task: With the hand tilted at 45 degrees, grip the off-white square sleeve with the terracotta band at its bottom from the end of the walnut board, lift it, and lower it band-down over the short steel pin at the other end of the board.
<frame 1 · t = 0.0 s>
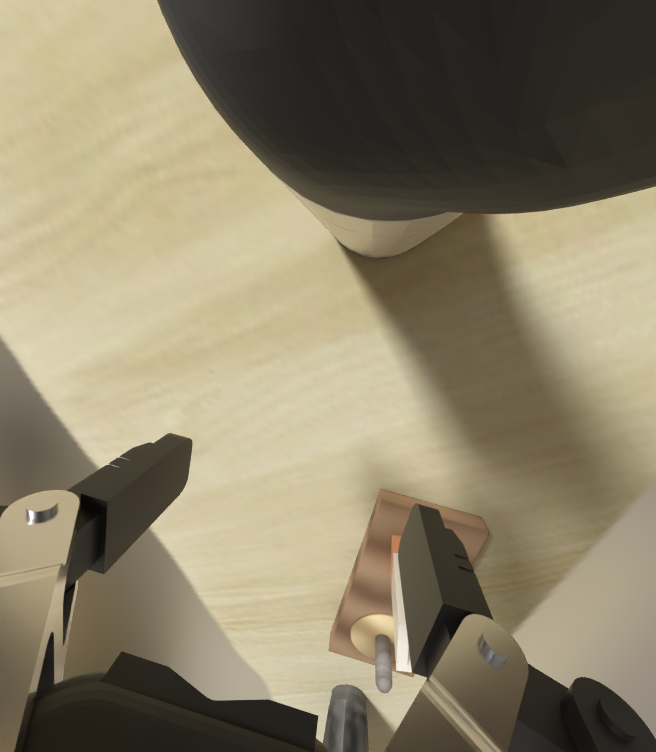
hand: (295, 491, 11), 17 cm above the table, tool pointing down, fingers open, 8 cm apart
sleeve: (417, 557, 30), point 2 cm above the table, touching pin board
beverage cup: (348, 694, 41), on the table
pin board: (397, 581, 34), on the table
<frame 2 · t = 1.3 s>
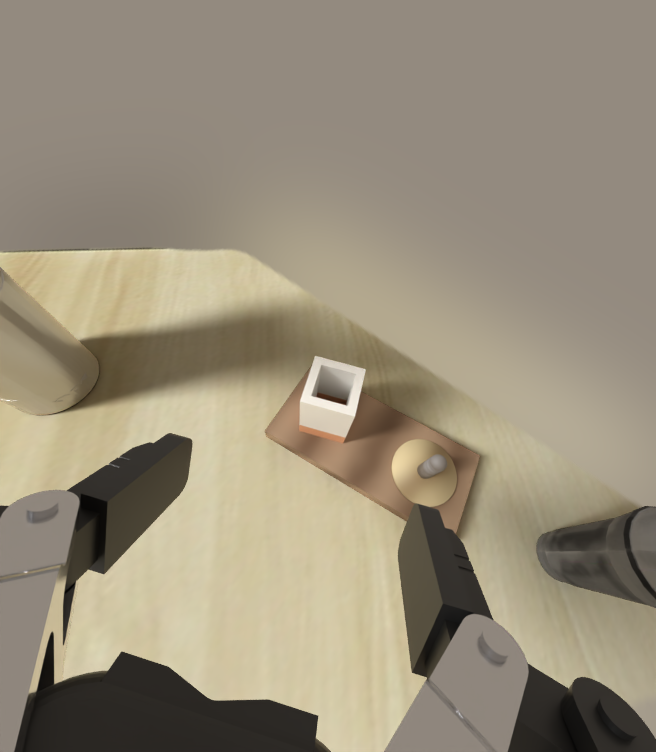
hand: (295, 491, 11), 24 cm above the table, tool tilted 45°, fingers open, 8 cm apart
sleeve: (326, 416, 35), point 2 cm above the table, touching pin board
beverage cup: (556, 556, 32), on the table
pin board: (370, 448, 36), on the table
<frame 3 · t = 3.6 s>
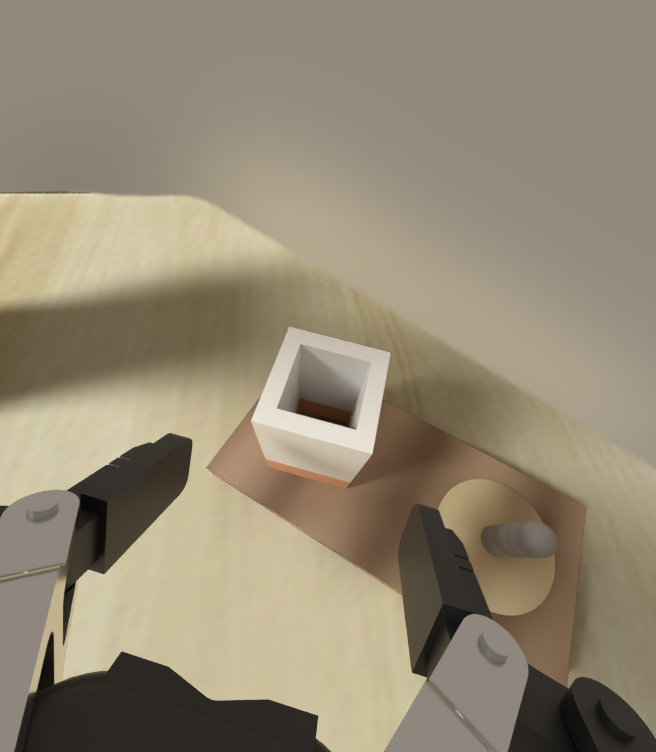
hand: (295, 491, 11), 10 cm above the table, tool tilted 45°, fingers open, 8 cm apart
sleeve: (317, 440, 20), point 2 cm above the table, touching pin board
pin board: (391, 492, 21), on the table
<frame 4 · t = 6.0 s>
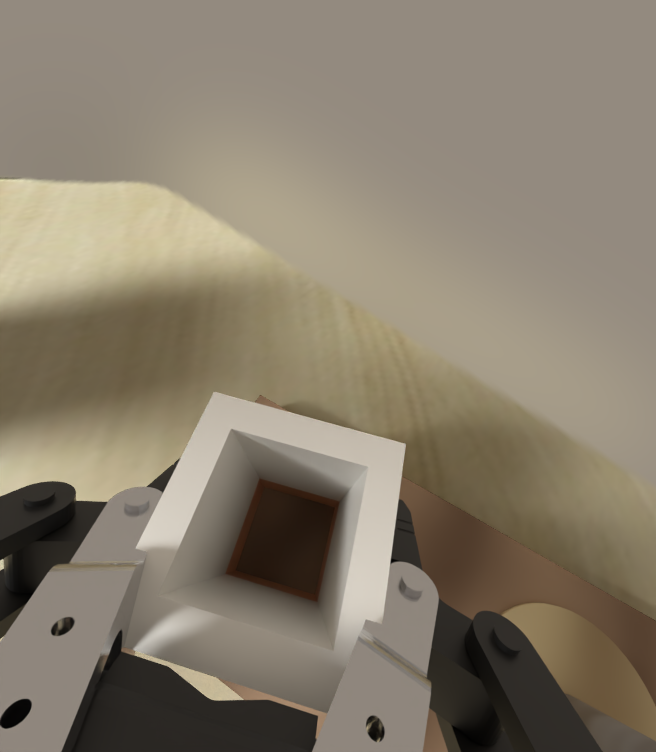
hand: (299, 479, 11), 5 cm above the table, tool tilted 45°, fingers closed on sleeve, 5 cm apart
sleeve: (287, 537, 13), point 2 cm above the table, touching gripper
pin board: (399, 612, 14), on the table
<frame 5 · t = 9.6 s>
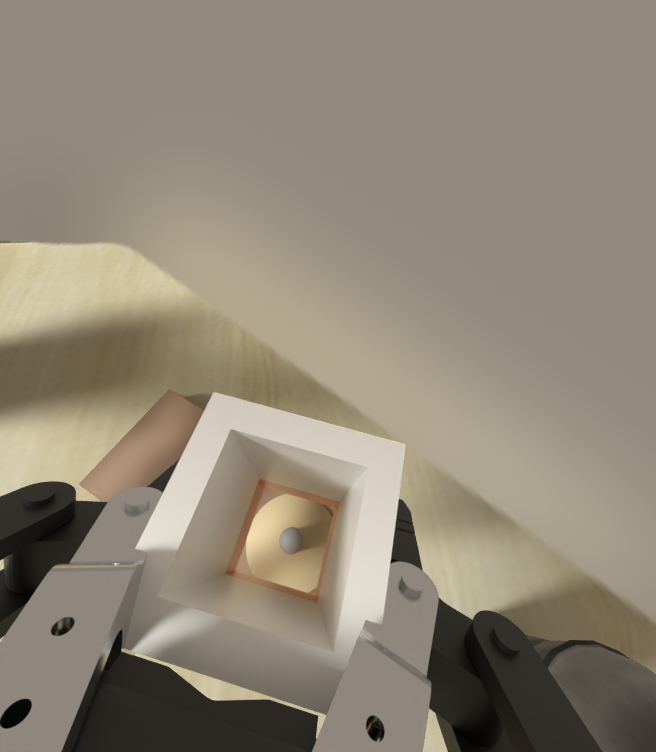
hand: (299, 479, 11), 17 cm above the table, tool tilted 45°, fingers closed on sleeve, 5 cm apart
sleeve: (287, 537, 13), point 14 cm above the table, touching gripper
beverage cup: (475, 662, 23), on the table
pin board: (234, 503, 27), on the table
when the fingers open (6 cm above the table, at t = 13.1 s): sleeve stays where it is, resting on pin board.
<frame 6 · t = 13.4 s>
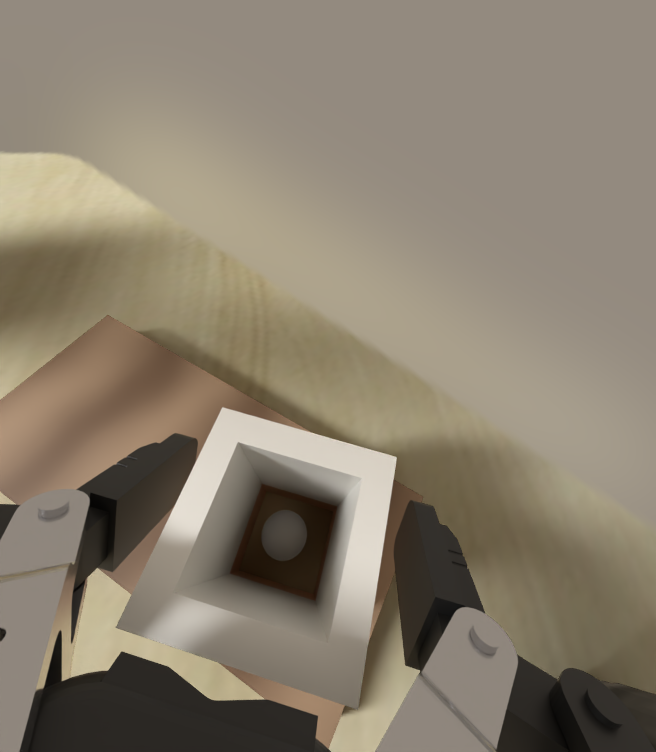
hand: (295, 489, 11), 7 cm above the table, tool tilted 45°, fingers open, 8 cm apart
sleeve: (288, 539, 14), point 2 cm above the table, touching pin board
beverage cup: (598, 743, 14), on the table
pin board: (198, 479, 17), on the table
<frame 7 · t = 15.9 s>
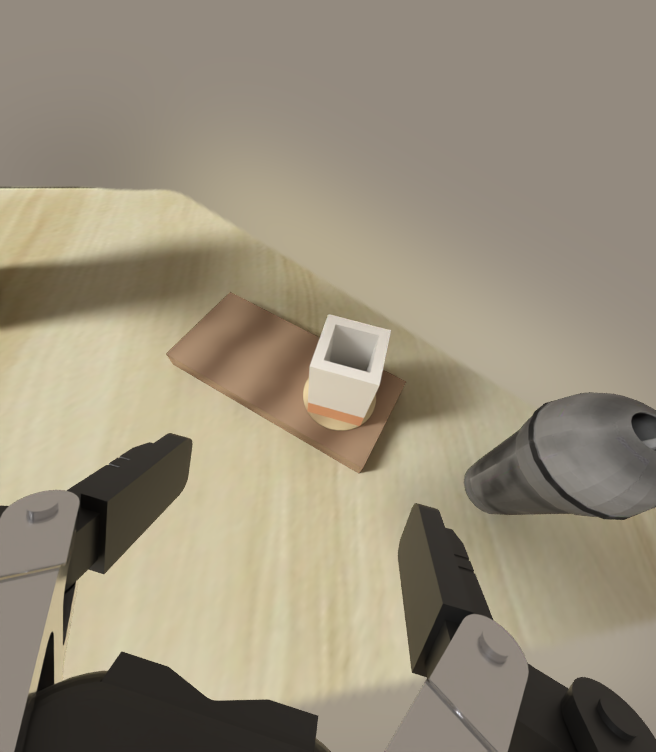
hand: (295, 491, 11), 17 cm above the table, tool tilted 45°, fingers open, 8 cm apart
sleeve: (340, 395, 29), point 2 cm above the table, touching pin board
beverage cup: (487, 487, 29), on the table
pin board: (287, 377, 33), on the table
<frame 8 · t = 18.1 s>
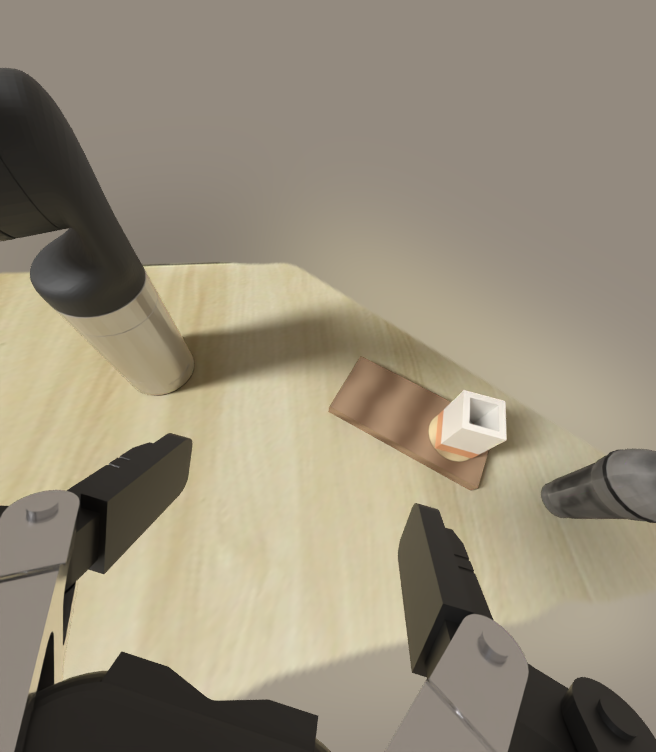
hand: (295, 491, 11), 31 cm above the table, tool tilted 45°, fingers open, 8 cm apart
sleeve: (454, 436, 43), point 2 cm above the table, touching pin board
beverage cup: (556, 500, 42), on the table
pin board: (409, 420, 46), on the table
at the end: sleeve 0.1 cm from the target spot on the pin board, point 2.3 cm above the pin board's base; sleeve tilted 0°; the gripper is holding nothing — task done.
